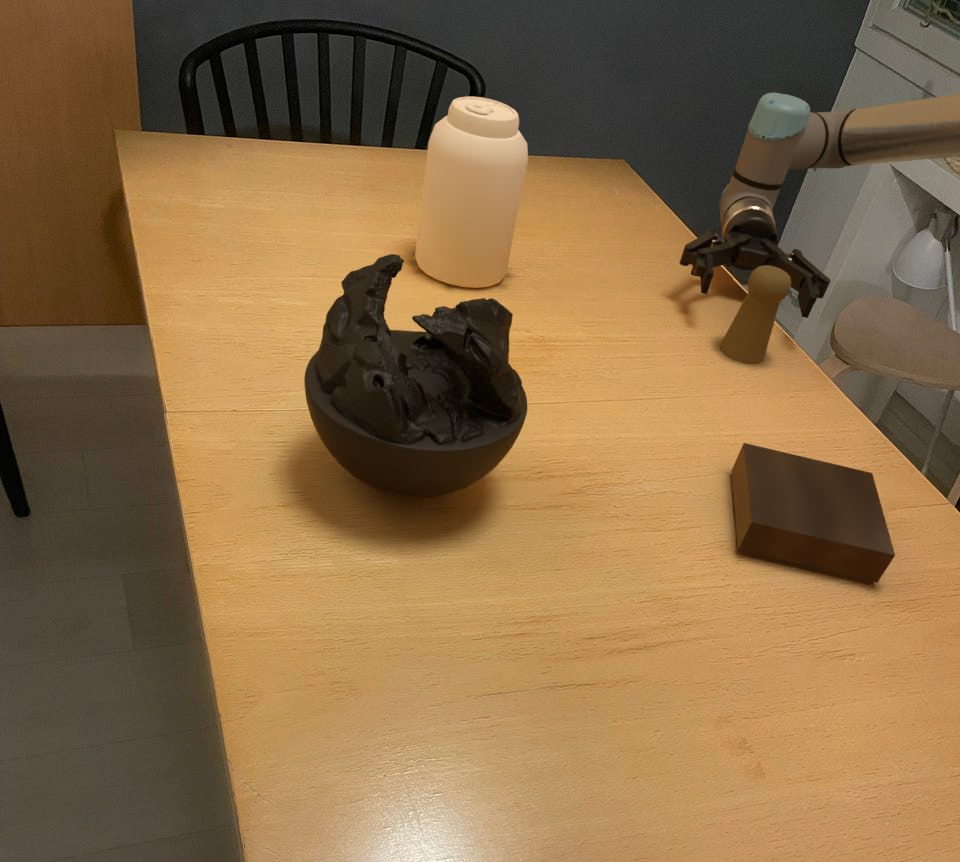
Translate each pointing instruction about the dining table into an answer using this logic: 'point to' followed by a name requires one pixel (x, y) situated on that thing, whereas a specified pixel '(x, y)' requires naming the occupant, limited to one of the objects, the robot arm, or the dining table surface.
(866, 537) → the walnut stand
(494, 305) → the bowl of black rocks
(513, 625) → the dining table surface
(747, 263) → the robot arm
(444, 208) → the can
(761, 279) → the wooden peg doll
